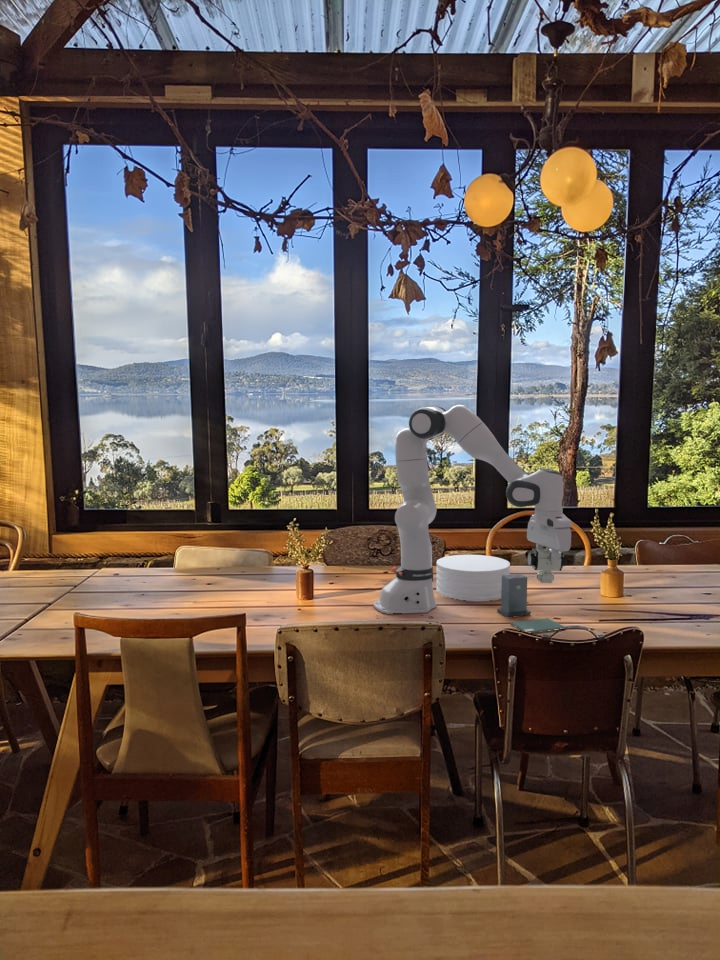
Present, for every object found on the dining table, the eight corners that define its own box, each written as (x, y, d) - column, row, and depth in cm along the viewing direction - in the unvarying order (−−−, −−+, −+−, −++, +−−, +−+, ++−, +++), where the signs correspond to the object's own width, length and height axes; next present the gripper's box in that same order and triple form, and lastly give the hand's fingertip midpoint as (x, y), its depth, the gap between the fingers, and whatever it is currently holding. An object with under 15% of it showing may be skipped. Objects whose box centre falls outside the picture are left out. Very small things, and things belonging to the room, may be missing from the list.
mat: (526, 634, 213) (526, 631, 213) (510, 624, 223) (510, 621, 223) (565, 629, 217) (565, 626, 217) (547, 620, 227) (547, 617, 227)
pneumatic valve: (525, 579, 229) (528, 544, 226) (560, 579, 229) (563, 545, 227) (530, 584, 223) (533, 549, 221) (565, 585, 224) (568, 550, 221)
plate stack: (425, 596, 258) (425, 566, 256) (451, 579, 282) (451, 552, 281) (497, 605, 245) (498, 574, 243) (517, 587, 269) (518, 558, 268)
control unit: (507, 618, 230) (507, 579, 228) (497, 612, 236) (497, 574, 235) (530, 615, 232) (531, 577, 231) (520, 609, 239) (520, 572, 237)
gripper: (522, 513, 232) (521, 553, 233) (558, 523, 213) (556, 567, 214) (538, 512, 234) (537, 552, 235) (575, 522, 215) (573, 565, 216)
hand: (547, 559), depth 225 cm, fingers closed on pneumatic valve, 5 cm apart
